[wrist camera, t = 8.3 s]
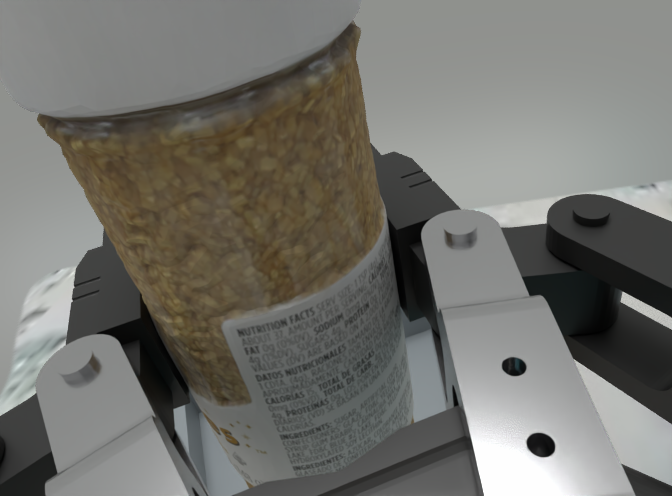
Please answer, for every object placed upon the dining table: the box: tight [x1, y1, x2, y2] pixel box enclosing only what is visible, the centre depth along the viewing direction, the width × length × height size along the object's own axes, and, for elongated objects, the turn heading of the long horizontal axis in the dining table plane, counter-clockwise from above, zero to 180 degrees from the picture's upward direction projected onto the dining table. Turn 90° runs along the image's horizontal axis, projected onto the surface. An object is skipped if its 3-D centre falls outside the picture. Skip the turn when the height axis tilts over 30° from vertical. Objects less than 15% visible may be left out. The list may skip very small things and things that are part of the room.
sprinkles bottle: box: [0, 0, 414, 488], centre depth 10 cm, size 5×5×14 cm
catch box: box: [173, 307, 446, 496], centre depth 25 cm, size 16×12×3 cm
